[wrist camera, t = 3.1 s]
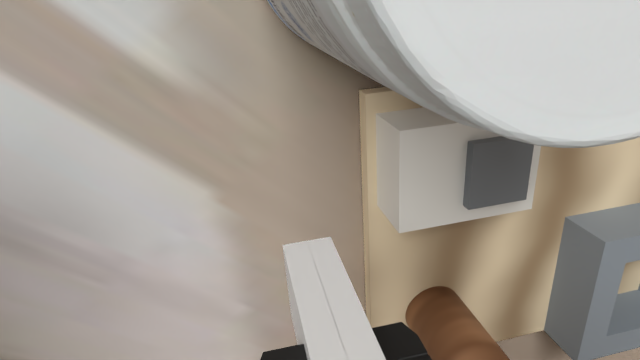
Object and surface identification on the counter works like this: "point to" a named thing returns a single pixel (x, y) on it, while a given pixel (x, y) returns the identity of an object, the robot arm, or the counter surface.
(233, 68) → the counter surface
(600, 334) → the socket
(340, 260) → the robot arm
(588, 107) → the supplement tub
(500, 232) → the plywood panel
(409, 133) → the block
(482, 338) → the awl
